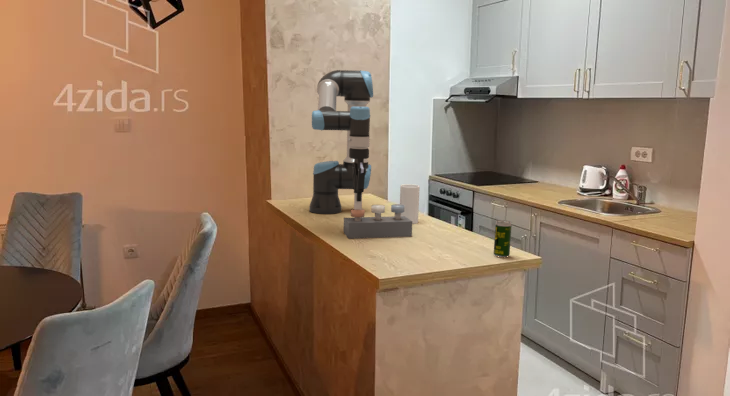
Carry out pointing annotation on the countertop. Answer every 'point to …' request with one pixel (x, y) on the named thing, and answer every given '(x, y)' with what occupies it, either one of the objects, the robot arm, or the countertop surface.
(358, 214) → the terracotta key
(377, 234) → the key panel
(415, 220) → the cup
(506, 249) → the beer can
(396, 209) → the pale blue knob
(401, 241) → the countertop surface
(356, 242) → the countertop surface
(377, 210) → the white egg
